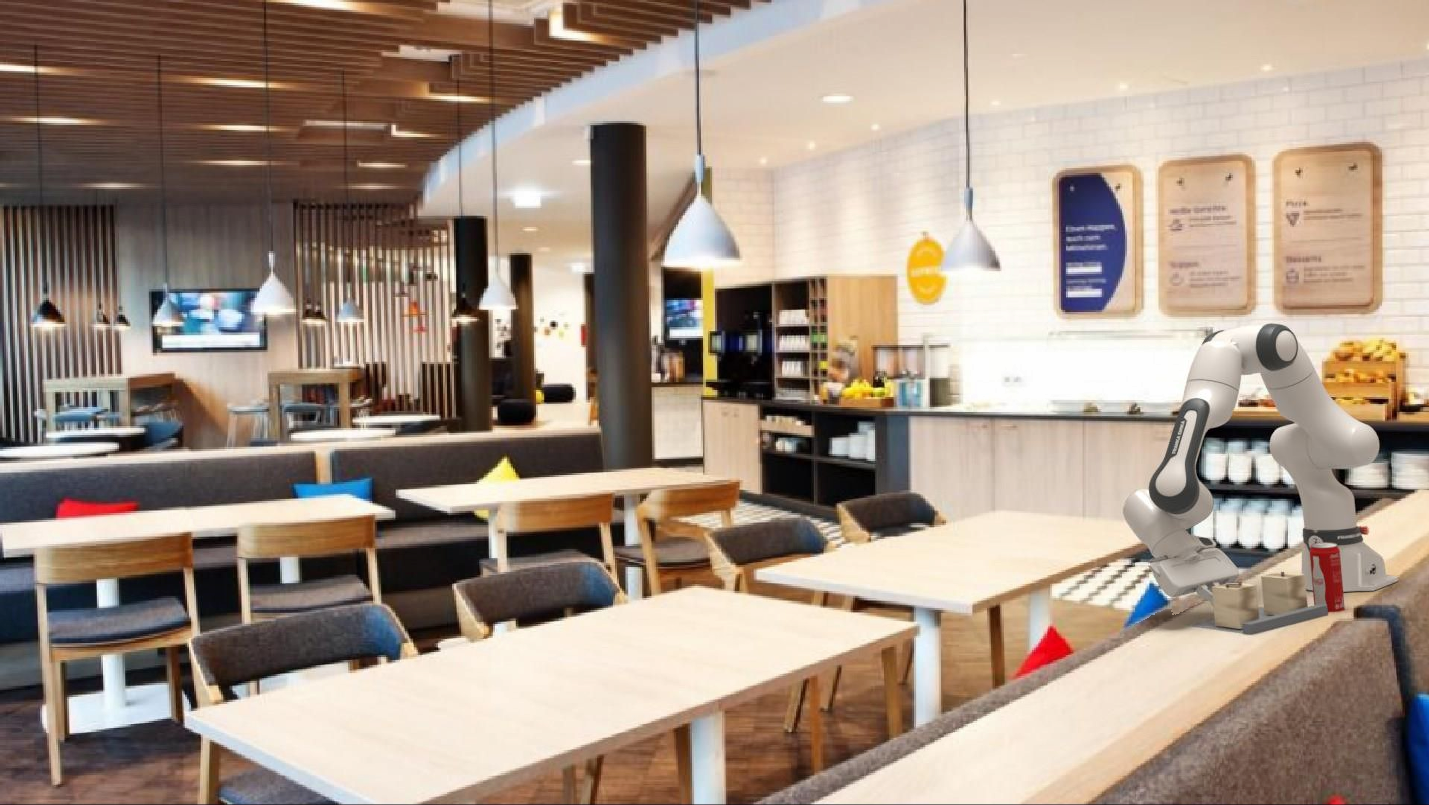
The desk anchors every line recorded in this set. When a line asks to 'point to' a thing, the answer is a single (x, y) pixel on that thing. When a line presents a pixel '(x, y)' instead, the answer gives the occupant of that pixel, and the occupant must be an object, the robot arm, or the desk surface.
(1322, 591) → the beverage can
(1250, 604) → the wooden digit block 2
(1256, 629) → the grey ledged board
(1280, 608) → the wooden number block 1
